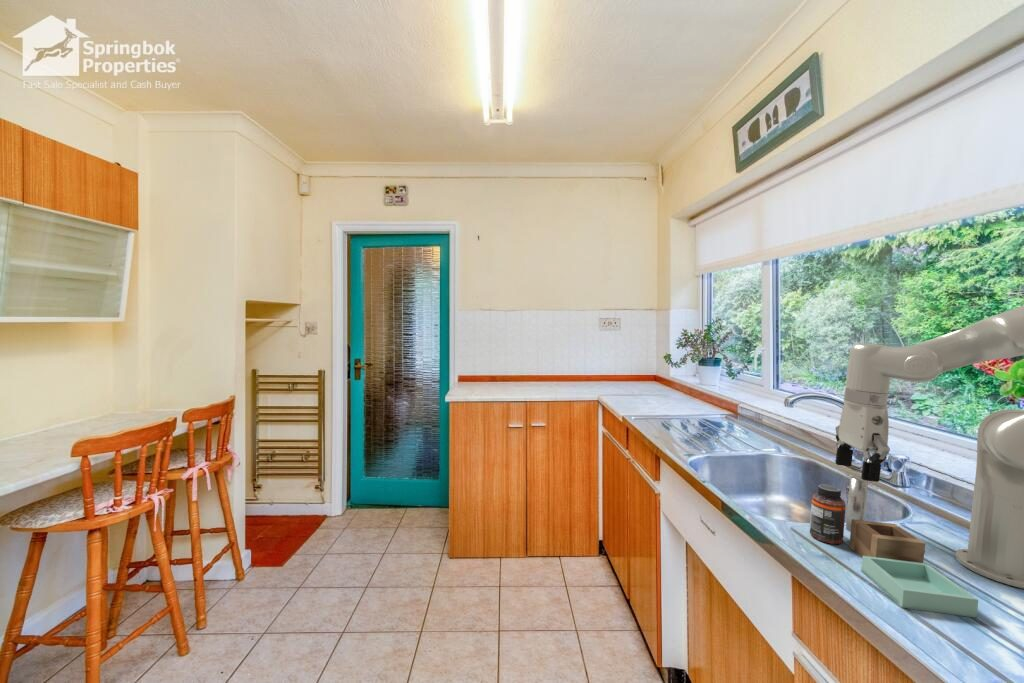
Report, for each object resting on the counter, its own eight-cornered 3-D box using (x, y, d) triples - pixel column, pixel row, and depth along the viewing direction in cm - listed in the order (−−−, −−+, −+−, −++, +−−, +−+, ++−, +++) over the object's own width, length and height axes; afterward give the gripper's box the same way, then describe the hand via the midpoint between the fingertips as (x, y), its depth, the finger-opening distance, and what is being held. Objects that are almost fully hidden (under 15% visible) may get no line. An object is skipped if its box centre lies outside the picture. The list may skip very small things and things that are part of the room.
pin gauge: (857, 528, 100) (862, 477, 99) (866, 534, 97) (871, 482, 96) (842, 526, 100) (847, 475, 100) (850, 532, 97) (855, 480, 97)
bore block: (892, 552, 89) (894, 523, 89) (922, 574, 81) (925, 543, 81) (849, 547, 91) (851, 519, 90) (874, 568, 83) (877, 538, 82)
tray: (924, 579, 80) (926, 563, 80) (976, 617, 69) (978, 599, 69) (861, 571, 82) (862, 555, 81) (902, 607, 71) (903, 589, 71)
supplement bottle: (831, 533, 97) (835, 483, 96) (849, 546, 91) (854, 494, 90) (803, 530, 97) (807, 481, 97) (819, 544, 91) (823, 491, 91)
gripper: (913, 408, 88) (902, 489, 89) (859, 393, 105) (850, 461, 106) (872, 404, 89) (861, 485, 90) (825, 390, 106) (817, 458, 107)
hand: (855, 472), depth 98 cm, fingers open, 9 cm apart
